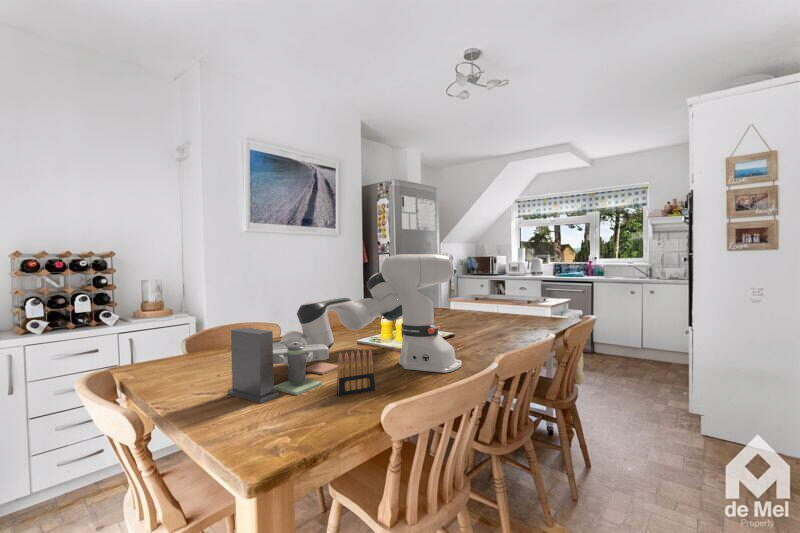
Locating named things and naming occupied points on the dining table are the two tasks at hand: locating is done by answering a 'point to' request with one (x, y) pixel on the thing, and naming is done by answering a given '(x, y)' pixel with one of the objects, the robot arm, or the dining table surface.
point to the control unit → (252, 364)
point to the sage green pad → (297, 386)
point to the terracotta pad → (321, 368)
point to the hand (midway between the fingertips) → (296, 360)
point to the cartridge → (296, 363)
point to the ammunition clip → (355, 374)
